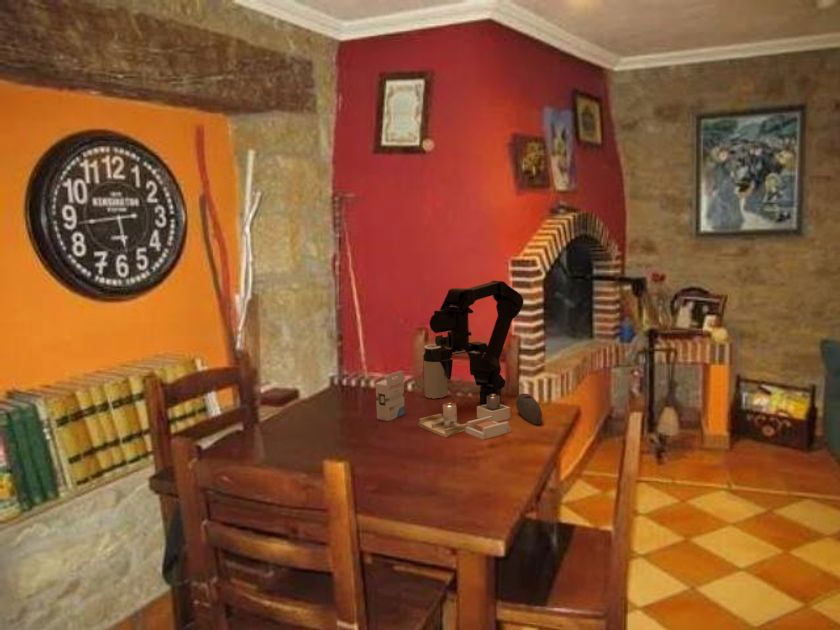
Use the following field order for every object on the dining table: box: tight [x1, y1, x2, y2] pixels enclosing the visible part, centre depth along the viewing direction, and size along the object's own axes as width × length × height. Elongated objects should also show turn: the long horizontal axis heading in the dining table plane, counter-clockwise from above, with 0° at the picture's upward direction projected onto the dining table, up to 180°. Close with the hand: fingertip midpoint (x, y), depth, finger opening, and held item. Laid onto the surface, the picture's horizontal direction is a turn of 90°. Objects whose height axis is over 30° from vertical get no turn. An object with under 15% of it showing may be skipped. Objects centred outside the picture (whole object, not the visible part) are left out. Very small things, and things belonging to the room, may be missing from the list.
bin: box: [476, 404, 511, 423], centre depth 201 cm, size 7×7×4 cm
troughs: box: [417, 413, 467, 438], centre depth 194 cm, size 9×14×2 cm, turn 34°
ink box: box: [375, 370, 406, 422], centre depth 206 cm, size 9×5×15 cm, turn 143°
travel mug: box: [423, 343, 448, 400], centre depth 228 cm, size 8×8×18 cm
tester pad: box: [476, 421, 495, 432], centre depth 188 cm, size 5×5×2 cm
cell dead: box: [487, 393, 500, 411], centre depth 200 cm, size 4×4×8 cm
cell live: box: [442, 401, 458, 429], centre depth 191 cm, size 4×4×8 cm
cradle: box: [464, 416, 511, 440], centre depth 188 cm, size 10×8×4 cm
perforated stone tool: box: [515, 393, 543, 426], centre depth 199 cm, size 15×5×7 cm, turn 9°
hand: (460, 377), depth 206 cm, fingers open, 9 cm apart
